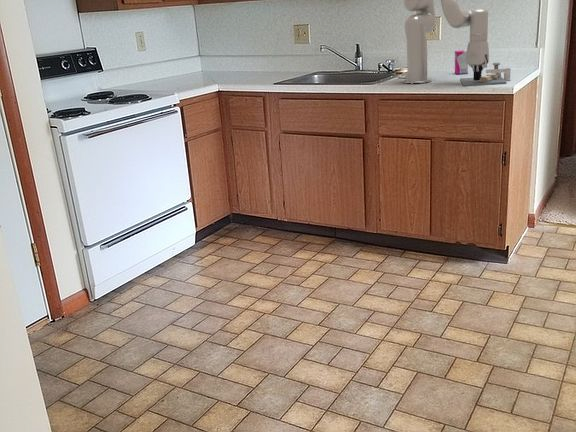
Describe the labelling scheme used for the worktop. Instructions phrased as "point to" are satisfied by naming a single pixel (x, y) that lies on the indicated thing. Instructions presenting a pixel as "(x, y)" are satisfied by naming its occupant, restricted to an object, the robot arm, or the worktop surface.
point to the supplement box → (461, 62)
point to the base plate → (473, 83)
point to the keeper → (506, 72)
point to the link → (492, 75)
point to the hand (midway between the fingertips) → (477, 80)
